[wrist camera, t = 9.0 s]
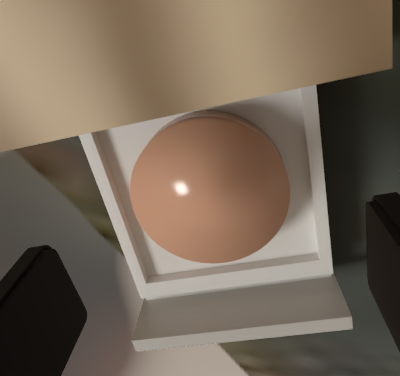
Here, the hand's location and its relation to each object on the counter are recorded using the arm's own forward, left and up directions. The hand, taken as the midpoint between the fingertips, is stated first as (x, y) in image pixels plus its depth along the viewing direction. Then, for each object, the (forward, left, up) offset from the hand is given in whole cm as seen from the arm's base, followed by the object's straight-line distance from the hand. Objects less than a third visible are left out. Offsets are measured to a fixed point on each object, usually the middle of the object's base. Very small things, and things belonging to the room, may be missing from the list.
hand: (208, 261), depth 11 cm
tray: (0, +1, -8) cm, 8 cm away
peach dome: (0, +1, -7) cm, 7 cm away
